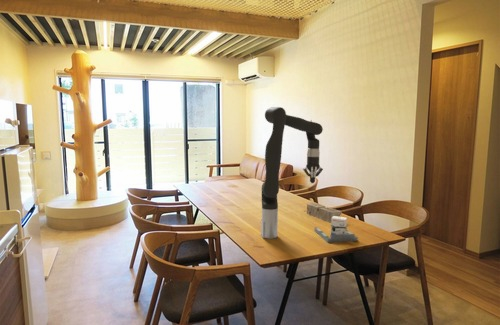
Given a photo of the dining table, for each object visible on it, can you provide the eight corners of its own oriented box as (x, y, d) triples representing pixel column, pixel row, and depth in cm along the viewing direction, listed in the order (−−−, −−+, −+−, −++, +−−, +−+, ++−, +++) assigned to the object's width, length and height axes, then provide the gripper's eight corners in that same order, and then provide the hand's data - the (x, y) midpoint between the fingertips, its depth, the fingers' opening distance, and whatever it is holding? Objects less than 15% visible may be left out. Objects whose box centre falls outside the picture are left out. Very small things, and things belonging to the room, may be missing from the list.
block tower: (305, 214, 248) (332, 224, 222) (305, 203, 247) (332, 211, 221) (313, 213, 251) (341, 222, 226) (314, 202, 251) (341, 210, 225)
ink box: (330, 237, 196) (331, 217, 195) (331, 234, 201) (332, 215, 199) (345, 239, 193) (346, 219, 192) (346, 236, 198) (347, 217, 196)
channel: (327, 242, 188) (327, 235, 187) (314, 230, 208) (314, 224, 208) (357, 241, 191) (357, 234, 190) (341, 229, 211) (341, 223, 211)
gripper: (305, 156, 203) (304, 184, 206) (325, 156, 206) (324, 183, 208) (301, 155, 211) (300, 182, 213) (321, 154, 213) (320, 181, 215)
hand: (312, 182), depth 210 cm, fingers closed
